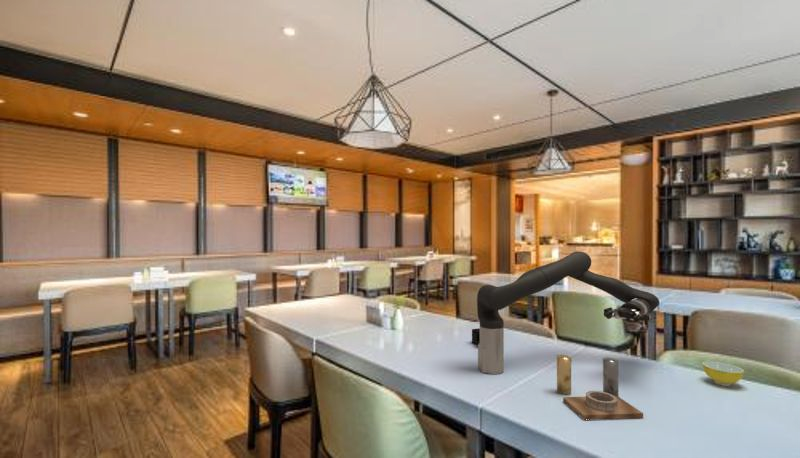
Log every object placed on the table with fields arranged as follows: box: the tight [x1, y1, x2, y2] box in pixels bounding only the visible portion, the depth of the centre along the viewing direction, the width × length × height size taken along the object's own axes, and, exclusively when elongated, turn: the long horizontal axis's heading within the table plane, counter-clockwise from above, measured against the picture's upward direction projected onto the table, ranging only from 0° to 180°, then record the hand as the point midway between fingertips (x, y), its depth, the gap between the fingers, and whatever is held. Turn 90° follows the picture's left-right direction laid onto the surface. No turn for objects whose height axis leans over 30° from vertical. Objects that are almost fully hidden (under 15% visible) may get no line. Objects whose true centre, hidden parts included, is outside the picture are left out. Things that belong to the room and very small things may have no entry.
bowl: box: [701, 361, 745, 387], centre depth 137 cm, size 11×12×6 cm
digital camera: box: [471, 327, 480, 347], centre depth 182 cm, size 10×5×7 cm, turn 24°
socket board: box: [562, 390, 644, 421], centre depth 116 cm, size 18×12×4 cm, turn 95°
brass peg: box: [556, 354, 572, 396], centre depth 129 cm, size 4×4×12 cm
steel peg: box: [602, 357, 620, 397], centre depth 126 cm, size 4×4×12 cm
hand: (620, 317), depth 134 cm, fingers open, 8 cm apart
